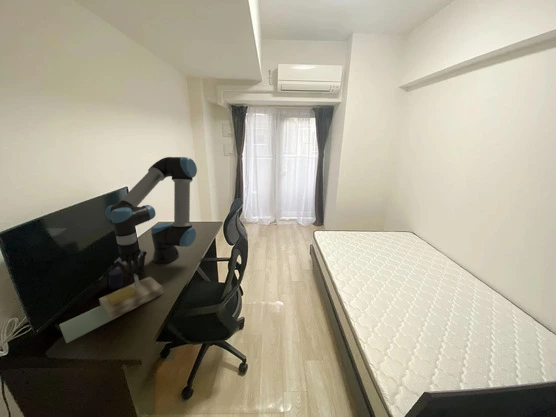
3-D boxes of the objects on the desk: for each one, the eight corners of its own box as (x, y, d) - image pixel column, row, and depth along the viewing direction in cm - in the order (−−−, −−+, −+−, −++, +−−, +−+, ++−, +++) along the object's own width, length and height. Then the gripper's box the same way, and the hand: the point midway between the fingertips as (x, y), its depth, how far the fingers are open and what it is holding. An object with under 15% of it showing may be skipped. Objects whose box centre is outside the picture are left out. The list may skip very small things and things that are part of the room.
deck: (151, 282, 117) (149, 276, 116) (163, 293, 109) (162, 286, 108) (100, 305, 100) (98, 298, 99) (111, 320, 92) (109, 312, 91)
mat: (100, 305, 100) (100, 305, 100) (111, 320, 92) (111, 319, 92) (59, 325, 90) (59, 324, 90) (66, 343, 82) (66, 342, 82)
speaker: (103, 288, 112) (101, 270, 109) (112, 282, 118) (111, 265, 115) (116, 291, 111) (115, 273, 109) (125, 284, 117) (124, 267, 114)
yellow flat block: (130, 289, 106) (129, 285, 105) (135, 294, 102) (134, 290, 102) (108, 299, 99) (107, 295, 98) (112, 305, 95) (111, 301, 95)
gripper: (140, 235, 105) (148, 277, 112) (107, 244, 96) (118, 290, 102) (146, 239, 101) (155, 283, 108) (113, 249, 91) (124, 297, 98)
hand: (137, 286), depth 105 cm, fingers closed
